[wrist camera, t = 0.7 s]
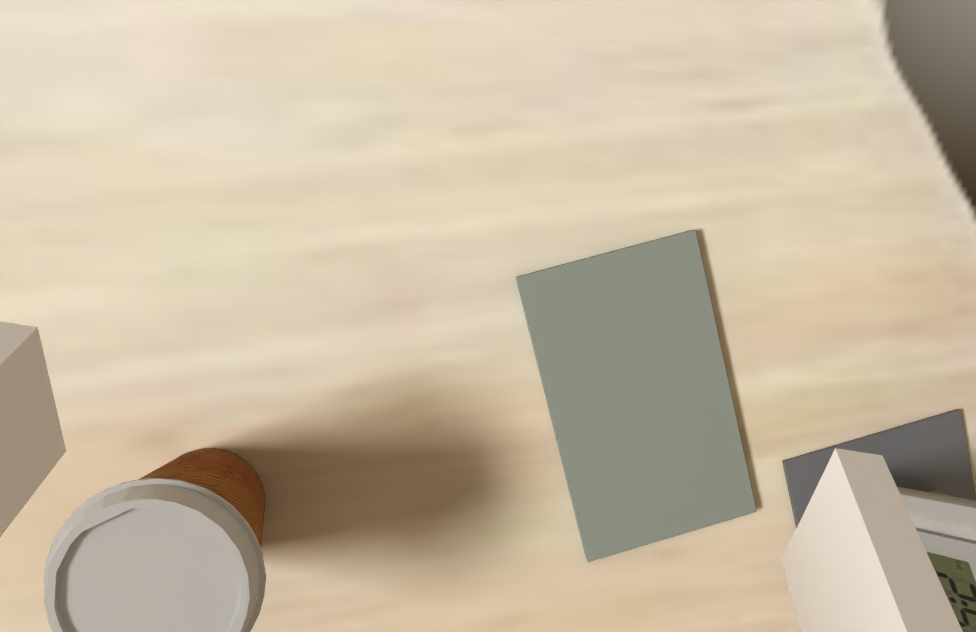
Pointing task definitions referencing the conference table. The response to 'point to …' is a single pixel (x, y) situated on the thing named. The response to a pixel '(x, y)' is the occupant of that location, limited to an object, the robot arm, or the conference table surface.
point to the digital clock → (948, 546)
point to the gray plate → (897, 460)
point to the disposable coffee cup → (163, 552)
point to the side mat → (638, 393)
